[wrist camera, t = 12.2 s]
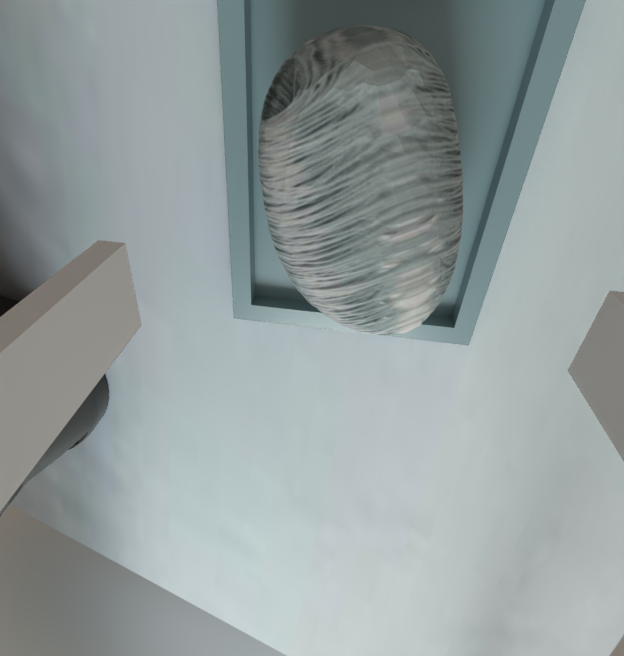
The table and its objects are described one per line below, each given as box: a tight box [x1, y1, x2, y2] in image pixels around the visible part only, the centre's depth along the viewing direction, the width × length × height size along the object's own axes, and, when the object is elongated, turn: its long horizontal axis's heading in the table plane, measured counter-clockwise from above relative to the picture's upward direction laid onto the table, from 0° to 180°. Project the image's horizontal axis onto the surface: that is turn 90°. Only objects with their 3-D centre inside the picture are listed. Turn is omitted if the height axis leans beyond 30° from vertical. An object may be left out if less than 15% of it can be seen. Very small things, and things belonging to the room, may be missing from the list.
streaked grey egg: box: [258, 25, 463, 336], centre depth 20 cm, size 14×10×10 cm
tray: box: [217, 0, 586, 345], centre depth 23 cm, size 15×19×2 cm
